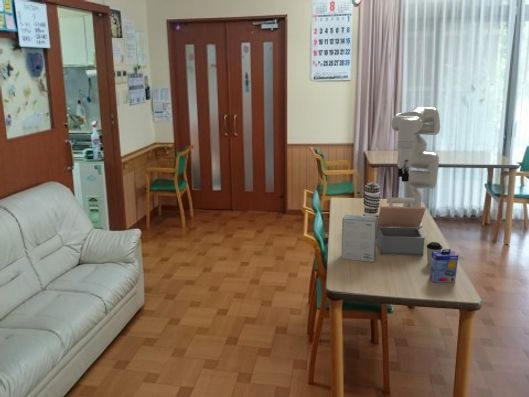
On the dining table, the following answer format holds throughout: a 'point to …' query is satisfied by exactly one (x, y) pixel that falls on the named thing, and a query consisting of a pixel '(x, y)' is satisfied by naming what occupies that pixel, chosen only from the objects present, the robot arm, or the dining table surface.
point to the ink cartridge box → (443, 266)
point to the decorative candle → (371, 200)
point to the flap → (400, 214)
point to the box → (400, 241)
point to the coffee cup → (432, 250)
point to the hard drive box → (359, 237)
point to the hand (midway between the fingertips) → (403, 179)
